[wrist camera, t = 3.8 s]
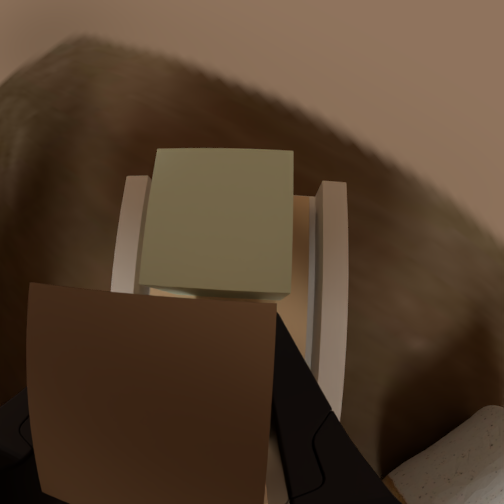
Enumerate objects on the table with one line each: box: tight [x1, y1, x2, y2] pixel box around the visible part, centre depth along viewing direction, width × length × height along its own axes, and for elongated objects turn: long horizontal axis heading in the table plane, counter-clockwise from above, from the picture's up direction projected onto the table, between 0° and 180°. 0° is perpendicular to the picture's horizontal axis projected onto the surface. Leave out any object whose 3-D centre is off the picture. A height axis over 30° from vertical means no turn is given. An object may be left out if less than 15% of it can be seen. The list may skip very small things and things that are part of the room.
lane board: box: [111, 176, 348, 421], centre depth 15 cm, size 22×11×3 cm, turn 177°
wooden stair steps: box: [26, 196, 309, 504], centre depth 9 cm, size 18×8×13 cm, turn 177°
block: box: [139, 148, 294, 300], centre depth 13 cm, size 5×5×5 cm
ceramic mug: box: [382, 405, 504, 504], centre depth 11 cm, size 11×8×8 cm
